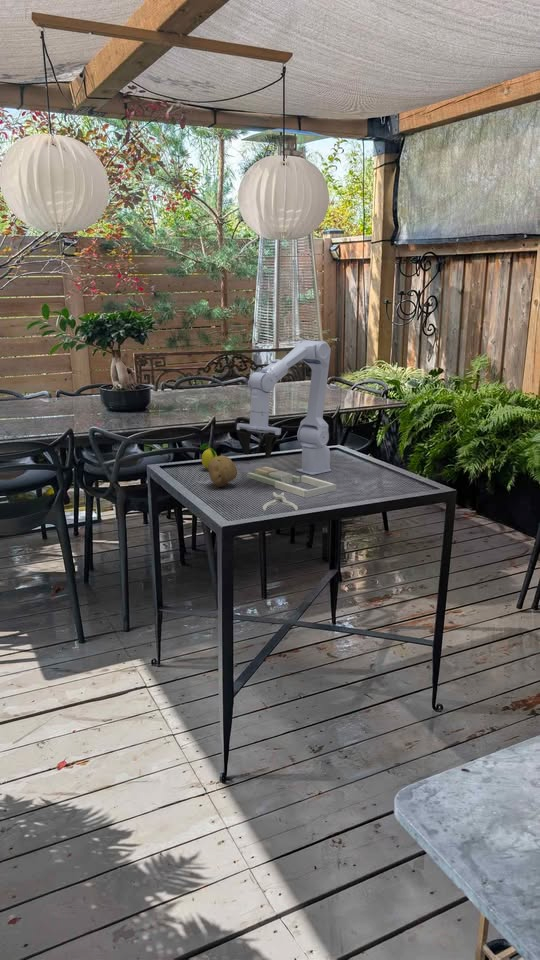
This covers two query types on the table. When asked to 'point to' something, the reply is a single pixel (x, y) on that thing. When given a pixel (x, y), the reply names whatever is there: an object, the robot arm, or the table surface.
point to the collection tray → (322, 488)
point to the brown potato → (222, 470)
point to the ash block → (264, 471)
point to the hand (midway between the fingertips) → (256, 455)
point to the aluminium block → (281, 476)
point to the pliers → (279, 498)
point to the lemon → (207, 454)
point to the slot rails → (268, 480)
